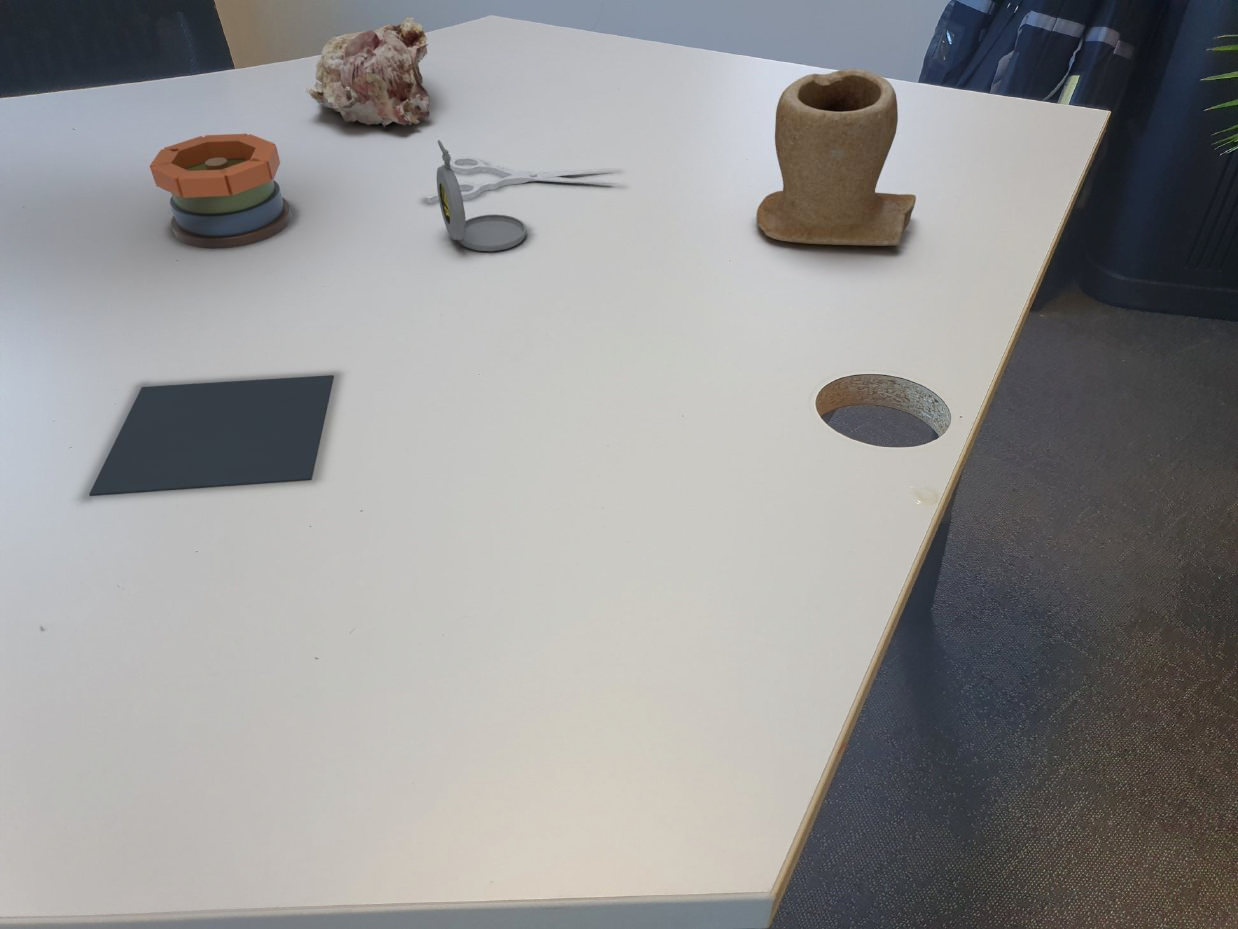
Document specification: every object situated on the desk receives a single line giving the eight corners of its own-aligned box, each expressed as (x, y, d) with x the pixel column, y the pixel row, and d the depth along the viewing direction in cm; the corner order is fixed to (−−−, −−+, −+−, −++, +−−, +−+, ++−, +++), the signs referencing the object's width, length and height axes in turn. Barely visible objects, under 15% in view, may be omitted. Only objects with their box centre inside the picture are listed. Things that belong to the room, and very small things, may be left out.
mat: (90, 498, 58) (88, 494, 58) (143, 390, 67) (141, 386, 67) (312, 482, 60) (310, 478, 59) (334, 379, 69) (333, 374, 68)
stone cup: (750, 259, 84) (769, 93, 74) (758, 205, 93) (775, 51, 83) (918, 273, 82) (959, 105, 72) (909, 217, 91) (944, 60, 81)
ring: (145, 199, 81) (138, 180, 80) (175, 154, 89) (170, 136, 88) (267, 194, 82) (262, 175, 81) (286, 150, 90) (281, 132, 89)
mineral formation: (335, 69, 122) (295, 4, 114) (446, 32, 120) (413, -37, 111) (330, 185, 111) (286, 122, 102) (453, 146, 108) (418, 79, 100)
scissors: (437, 157, 100) (617, 153, 100) (438, 164, 100) (617, 160, 101) (426, 197, 92) (622, 193, 92) (427, 205, 92) (622, 200, 93)
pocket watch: (540, 235, 87) (534, 131, 81) (483, 269, 82) (472, 162, 75) (476, 214, 91) (465, 113, 84) (417, 246, 85) (401, 141, 79)
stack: (161, 253, 84) (138, 187, 80) (190, 203, 92) (170, 141, 88) (282, 247, 85) (265, 182, 81) (300, 199, 93) (285, 137, 89)
